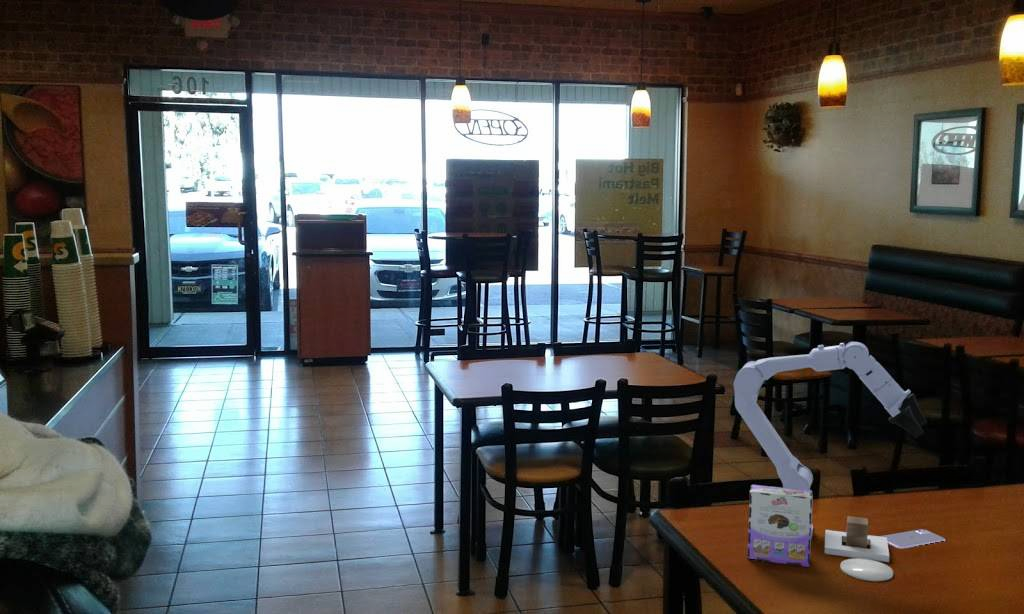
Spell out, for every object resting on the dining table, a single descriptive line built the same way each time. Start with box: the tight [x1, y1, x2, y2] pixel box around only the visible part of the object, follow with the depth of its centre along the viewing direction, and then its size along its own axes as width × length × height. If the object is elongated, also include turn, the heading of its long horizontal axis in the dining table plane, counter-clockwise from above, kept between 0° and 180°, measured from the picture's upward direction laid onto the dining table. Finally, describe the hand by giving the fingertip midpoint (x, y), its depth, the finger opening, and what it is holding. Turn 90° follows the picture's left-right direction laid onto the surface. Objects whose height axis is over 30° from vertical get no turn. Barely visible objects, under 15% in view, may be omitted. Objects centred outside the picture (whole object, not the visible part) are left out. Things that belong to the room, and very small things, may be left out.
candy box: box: [746, 484, 813, 568], centre depth 209 cm, size 14×6×16 cm, turn 71°
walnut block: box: [845, 515, 869, 549], centre depth 216 cm, size 4×4×7 cm
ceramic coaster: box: [839, 558, 894, 582], centre depth 203 cm, size 11×11×1 cm
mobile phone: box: [880, 528, 946, 550], centre depth 222 cm, size 8×1×15 cm
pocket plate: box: [824, 529, 890, 563], centre depth 216 cm, size 14×12×2 cm
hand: (921, 430), depth 213 cm, fingers open, 7 cm apart
